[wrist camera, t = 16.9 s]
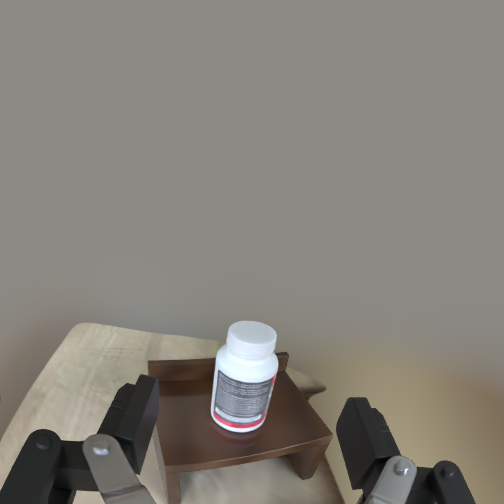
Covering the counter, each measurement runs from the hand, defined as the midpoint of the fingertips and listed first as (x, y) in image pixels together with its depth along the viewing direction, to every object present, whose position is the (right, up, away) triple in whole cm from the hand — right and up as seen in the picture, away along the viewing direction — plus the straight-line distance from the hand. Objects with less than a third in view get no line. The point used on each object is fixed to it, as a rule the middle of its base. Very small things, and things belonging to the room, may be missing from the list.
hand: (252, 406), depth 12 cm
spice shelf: (-3, -17, +19) cm, 25 cm away
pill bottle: (-1, -10, +16) cm, 19 cm away
